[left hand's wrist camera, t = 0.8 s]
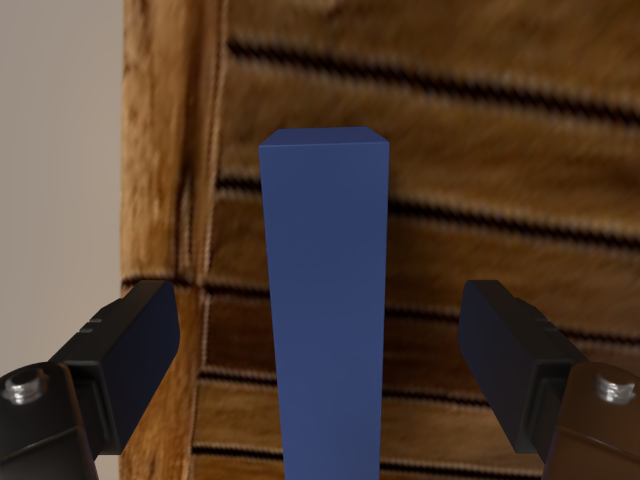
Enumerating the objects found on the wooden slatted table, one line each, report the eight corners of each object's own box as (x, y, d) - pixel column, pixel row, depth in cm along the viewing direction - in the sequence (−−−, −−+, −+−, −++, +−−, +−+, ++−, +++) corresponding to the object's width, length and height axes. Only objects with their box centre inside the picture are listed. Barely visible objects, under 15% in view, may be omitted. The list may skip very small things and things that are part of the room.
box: (277, 129, 27) (257, 145, 18) (367, 126, 27) (390, 141, 18) (295, 419, 35) (288, 521, 27) (364, 417, 35) (378, 519, 27)
